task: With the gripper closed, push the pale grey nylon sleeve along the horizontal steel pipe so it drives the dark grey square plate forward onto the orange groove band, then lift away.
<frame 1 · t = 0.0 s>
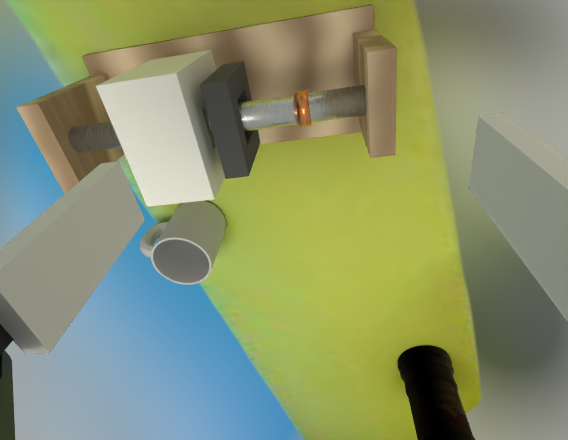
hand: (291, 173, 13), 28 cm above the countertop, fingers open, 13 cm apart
cup: (191, 219, 50), on the countertop
container: (423, 360, 63), on the countertop
dark grey square plate: (235, 118, 31), point 10 cm above the countertop, slide at 0.0 cm
stand: (234, 91, 39), on the countertop
pipe: (212, 121, 31), point 9 cm above the countertop
sleeve: (180, 125, 32), point 10 cm above the countertop, slide at 0.0 cm
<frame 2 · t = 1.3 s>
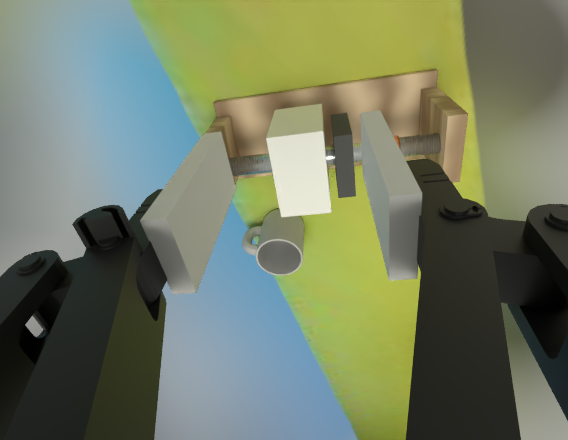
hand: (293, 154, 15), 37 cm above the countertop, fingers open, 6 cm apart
cup: (275, 224, 62), on the countertop
dark grey square plate: (342, 154, 43), point 10 cm above the countertop, slide at 0.0 cm
stand: (324, 128, 52), on the countertop
pipe: (326, 156, 44), point 9 cm above the countertop
sleeve: (301, 159, 44), point 10 cm above the countertop, slide at 0.0 cm
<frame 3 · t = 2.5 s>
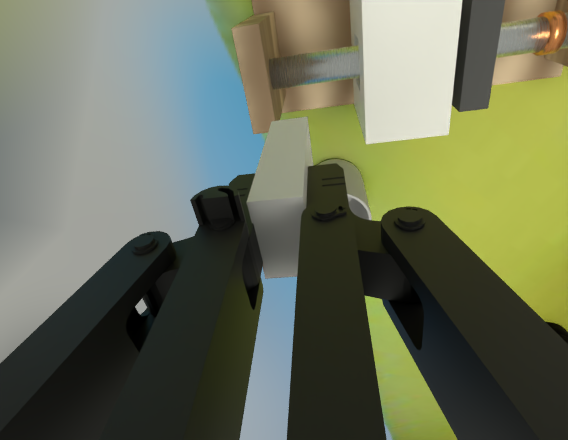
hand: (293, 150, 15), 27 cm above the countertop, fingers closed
cup: (323, 182, 46), on the countertop
dark grey square plate: (462, 46, 28), point 10 cm above the countertop, slide at 0.0 cm
stand: (407, 33, 36), on the countertop
pipe: (435, 50, 28), point 9 cm above the countertop
sleeve: (395, 56, 28), point 10 cm above the countertop, slide at 0.0 cm
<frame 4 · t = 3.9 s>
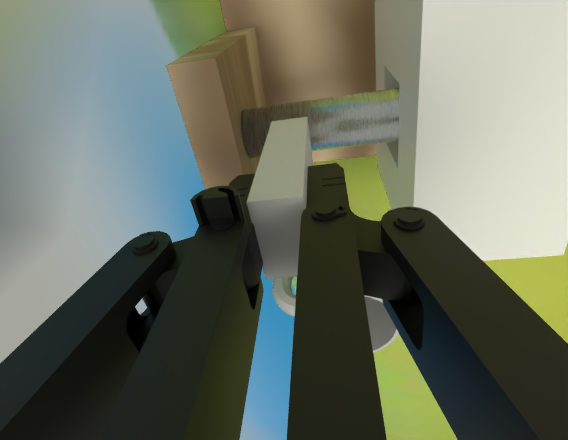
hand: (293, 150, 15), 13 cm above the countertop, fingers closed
cup: (328, 250, 35), on the countertop
stand: (455, 57, 24), on the countertop
pipe: (528, 97, 16), point 9 cm above the countertop
sleeve: (457, 107, 16), point 10 cm above the countertop, slide at 0.0 cm
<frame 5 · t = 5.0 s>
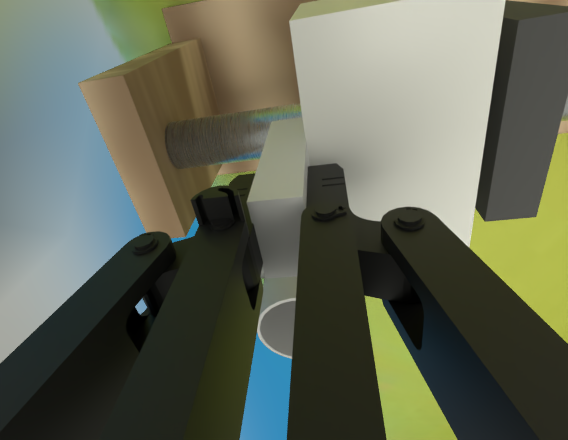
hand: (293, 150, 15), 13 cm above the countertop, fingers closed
cup: (291, 255, 35), on the countertop
dark grey square plate: (487, 103, 16), point 10 cm above the countertop, slide at 0.0 cm
stand: (398, 66, 25), on the countertop
pipe: (440, 109, 16), point 9 cm above the countertop
sleeve: (374, 118, 17), point 10 cm above the countertop, slide at 0.0 cm, touching gripper
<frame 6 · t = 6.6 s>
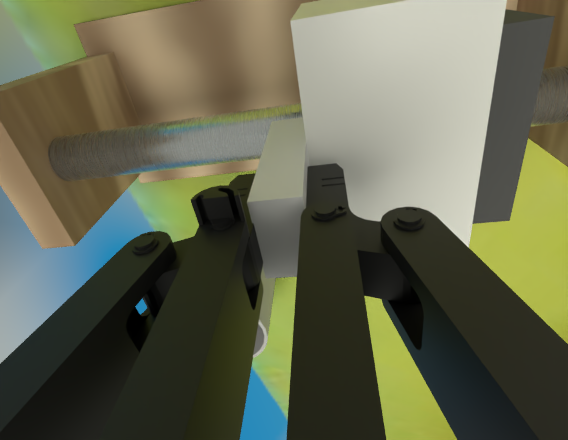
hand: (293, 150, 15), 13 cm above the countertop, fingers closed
cup: (228, 259, 36), on the countertop
dark grey square plate: (463, 107, 16), point 10 cm above the countertop, slide at 5.3 cm, touching sleeve
stand: (308, 81, 26), on the countertop
pipe: (304, 128, 17), point 9 cm above the countertop
sleeve: (374, 119, 17), point 10 cm above the countertop, slide at 6.3 cm, touching gripper, dark grey square plate
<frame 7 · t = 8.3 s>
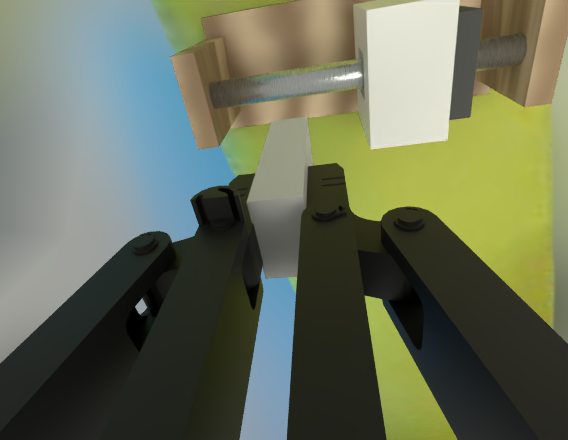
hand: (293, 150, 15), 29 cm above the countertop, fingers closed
dark grey square plate: (446, 60, 30), point 10 cm above the countertop, slide at 5.3 cm, touching sleeve
stand: (348, 55, 39), on the countertop
pipe: (357, 73, 31), point 9 cm above the countertop
sleeve: (397, 67, 30), point 10 cm above the countertop, slide at 6.3 cm, touching dark grey square plate
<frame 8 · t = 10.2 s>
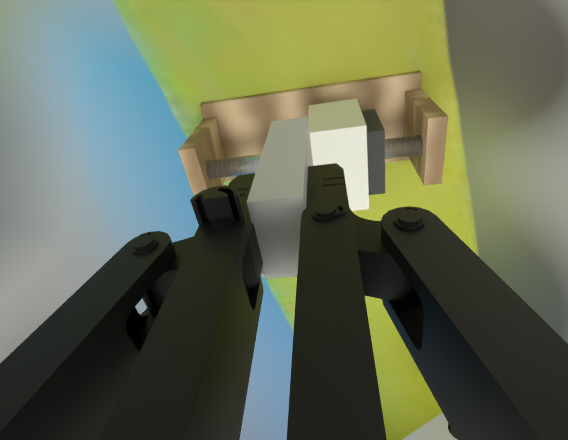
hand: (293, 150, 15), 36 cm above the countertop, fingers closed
dark grey square plate: (371, 150, 43), point 10 cm above the countertop, slide at 5.3 cm, touching sleeve
stand: (310, 130, 52), on the countertop
pipe: (310, 158, 44), point 9 cm above the countertop
sleeve: (337, 154, 43), point 10 cm above the countertop, slide at 6.3 cm, touching dark grey square plate
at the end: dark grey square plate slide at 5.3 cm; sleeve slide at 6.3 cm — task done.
